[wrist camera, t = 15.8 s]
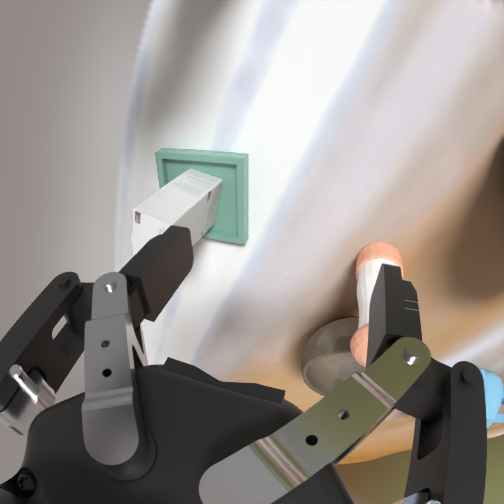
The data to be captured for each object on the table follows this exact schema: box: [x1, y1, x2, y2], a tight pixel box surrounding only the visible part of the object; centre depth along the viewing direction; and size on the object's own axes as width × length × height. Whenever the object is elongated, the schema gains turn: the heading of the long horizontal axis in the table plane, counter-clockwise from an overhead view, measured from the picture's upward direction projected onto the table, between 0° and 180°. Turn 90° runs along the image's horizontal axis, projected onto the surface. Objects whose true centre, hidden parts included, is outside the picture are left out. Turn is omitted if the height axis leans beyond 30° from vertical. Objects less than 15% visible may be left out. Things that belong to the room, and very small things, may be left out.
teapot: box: [479, 369, 504, 429], centre depth 50 cm, size 19×19×14 cm
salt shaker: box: [350, 242, 403, 367], centre depth 38 cm, size 7×7×19 cm
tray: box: [155, 148, 248, 245], centre depth 47 cm, size 14×14×2 cm
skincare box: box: [131, 168, 223, 258], centre depth 41 cm, size 8×6×15 cm
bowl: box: [301, 317, 366, 396], centre depth 52 cm, size 17×18×10 cm
